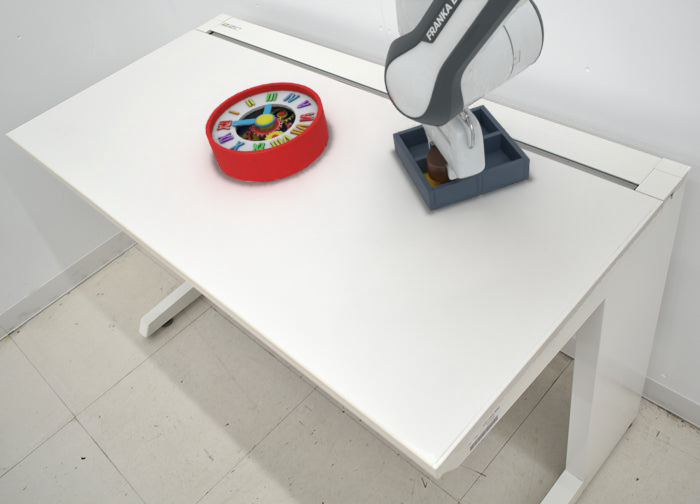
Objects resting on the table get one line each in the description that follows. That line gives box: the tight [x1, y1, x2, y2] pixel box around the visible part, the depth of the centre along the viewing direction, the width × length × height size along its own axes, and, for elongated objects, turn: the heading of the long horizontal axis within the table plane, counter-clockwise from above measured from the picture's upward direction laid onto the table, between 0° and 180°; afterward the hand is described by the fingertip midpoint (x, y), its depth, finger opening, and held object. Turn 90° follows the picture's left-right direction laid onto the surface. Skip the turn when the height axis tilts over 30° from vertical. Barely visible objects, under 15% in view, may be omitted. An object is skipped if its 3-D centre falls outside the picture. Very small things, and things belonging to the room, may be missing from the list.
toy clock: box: [204, 81, 330, 183], centre depth 103 cm, size 20×6×20 cm
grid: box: [392, 104, 531, 212], centre depth 92 cm, size 15×15×4 cm
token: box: [426, 147, 458, 183], centre depth 88 cm, size 5×5×3 cm
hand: (444, 162), depth 87 cm, fingers closed on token, 5 cm apart
